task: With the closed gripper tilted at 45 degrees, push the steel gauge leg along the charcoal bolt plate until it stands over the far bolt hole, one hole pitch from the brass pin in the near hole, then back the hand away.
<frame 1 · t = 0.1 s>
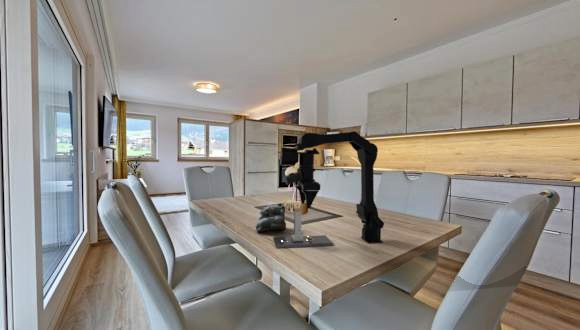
hand: (305, 205, 91), 15 cm above the table, tool pointing down, fingers open, 9 cm apart
bolt plate: (302, 242, 93), on the table
gauge leg: (297, 223, 92), point 7 cm above the table, slide at 0.0 cm
dark grey lumpy block: (270, 231, 107), on the table
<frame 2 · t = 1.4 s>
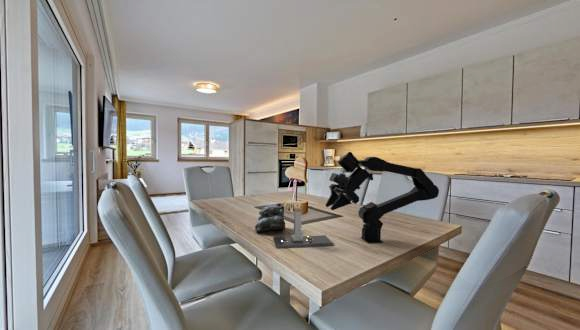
hand: (328, 207, 94), 14 cm above the table, tool tilted 45°, fingers open, 6 cm apart
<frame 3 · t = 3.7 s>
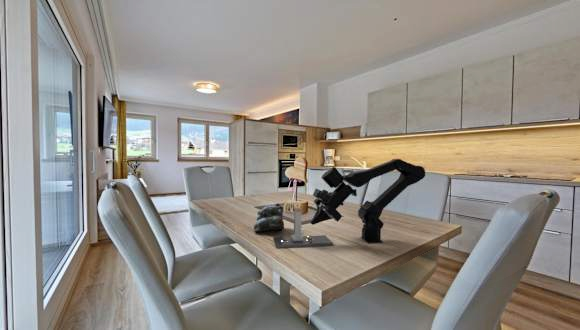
hand: (311, 223, 93), 7 cm above the table, tool tilted 45°, fingers closed
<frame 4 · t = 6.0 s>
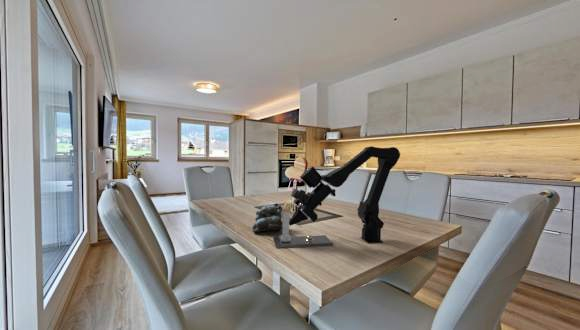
hand: (289, 224, 91), 7 cm above the table, tool tilted 45°, fingers closed, pressing on gauge leg
gauge leg: (285, 224, 91), point 7 cm above the table, slide at 4.8 cm, touching gripper
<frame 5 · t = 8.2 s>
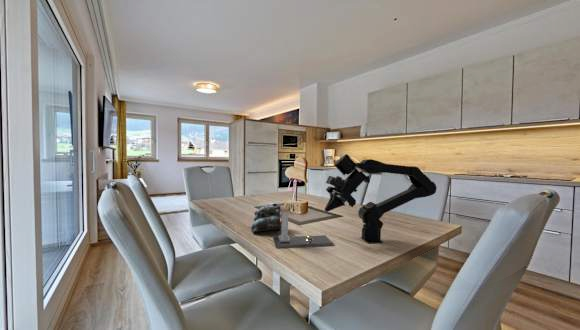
hand: (325, 210, 94), 12 cm above the table, tool tilted 45°, fingers closed
gauge leg: (284, 224, 91), point 7 cm above the table, slide at 5.2 cm
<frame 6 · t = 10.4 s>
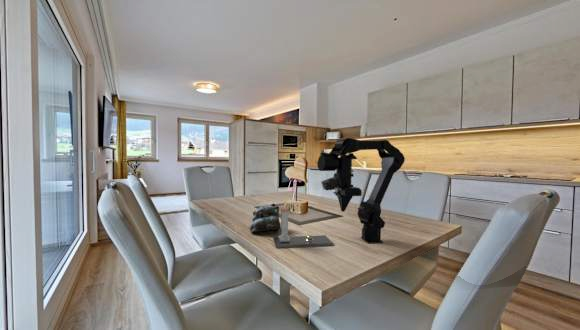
hand: (342, 211, 91), 13 cm above the table, tool pointing down, fingers closed
at the end: gauge leg slide at 5.2 cm; the gripper is holding nothing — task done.
